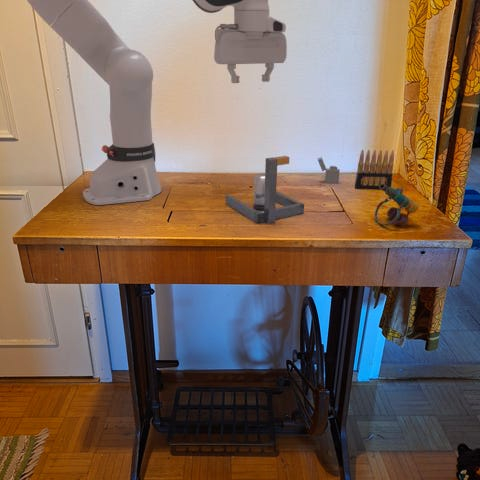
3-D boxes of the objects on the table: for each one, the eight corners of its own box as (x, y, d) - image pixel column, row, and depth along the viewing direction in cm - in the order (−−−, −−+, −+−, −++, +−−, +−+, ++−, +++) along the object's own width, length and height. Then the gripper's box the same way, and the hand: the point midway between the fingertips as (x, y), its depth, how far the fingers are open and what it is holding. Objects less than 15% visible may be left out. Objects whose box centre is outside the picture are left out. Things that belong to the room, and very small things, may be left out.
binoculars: (399, 238, 106) (426, 204, 104) (372, 220, 103) (399, 185, 101) (382, 223, 115) (407, 192, 112) (356, 207, 112) (381, 174, 109)
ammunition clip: (389, 188, 136) (395, 149, 131) (390, 190, 134) (396, 150, 129) (354, 187, 136) (359, 148, 131) (355, 189, 135) (360, 150, 130)
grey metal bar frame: (260, 225, 107) (262, 161, 101) (225, 203, 122) (225, 146, 115) (307, 215, 114) (311, 154, 107) (269, 195, 128) (271, 140, 122)
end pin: (259, 212, 116) (260, 179, 112) (250, 206, 120) (250, 174, 116) (273, 209, 118) (275, 176, 114) (264, 204, 122) (265, 172, 118)
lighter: (337, 181, 141) (340, 157, 138) (338, 183, 140) (340, 158, 137) (315, 180, 142) (317, 156, 139) (315, 182, 141) (317, 157, 137)
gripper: (221, 23, 104) (221, 84, 110) (291, 24, 113) (288, 81, 119) (209, 23, 109) (210, 82, 115) (277, 25, 118) (275, 80, 124)
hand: (250, 82), depth 117 cm, fingers open, 8 cm apart
